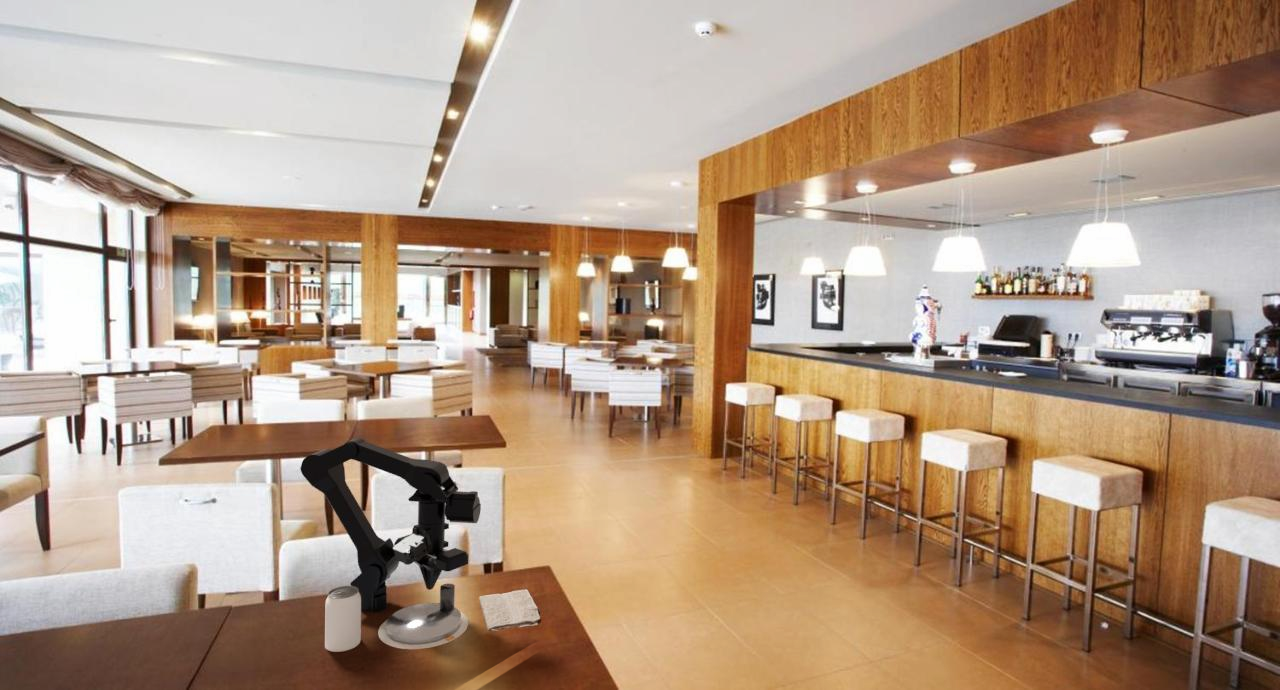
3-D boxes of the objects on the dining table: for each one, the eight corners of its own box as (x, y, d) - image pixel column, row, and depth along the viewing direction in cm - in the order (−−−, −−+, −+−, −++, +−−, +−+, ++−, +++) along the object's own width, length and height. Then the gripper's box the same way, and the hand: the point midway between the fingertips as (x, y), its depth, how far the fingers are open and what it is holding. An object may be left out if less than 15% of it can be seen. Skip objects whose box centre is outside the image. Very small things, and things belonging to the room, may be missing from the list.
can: (346, 661, 126) (347, 600, 125) (317, 656, 127) (317, 596, 126) (367, 644, 132) (368, 586, 131) (339, 640, 133) (339, 583, 133)
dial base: (359, 637, 135) (360, 628, 135) (431, 605, 150) (431, 598, 150) (414, 666, 125) (415, 657, 125) (485, 629, 140) (485, 621, 140)
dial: (416, 652, 127) (417, 620, 126) (370, 629, 135) (371, 598, 135) (475, 623, 139) (476, 593, 139) (430, 603, 148) (430, 575, 147)
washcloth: (488, 641, 136) (488, 627, 136) (475, 604, 152) (476, 591, 152) (543, 633, 140) (544, 619, 140) (526, 597, 157) (526, 585, 157)
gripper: (373, 520, 143) (372, 589, 144) (428, 540, 132) (426, 614, 133) (416, 508, 152) (415, 573, 153) (471, 526, 141) (469, 596, 142)
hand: (429, 589), depth 145 cm, fingers closed
